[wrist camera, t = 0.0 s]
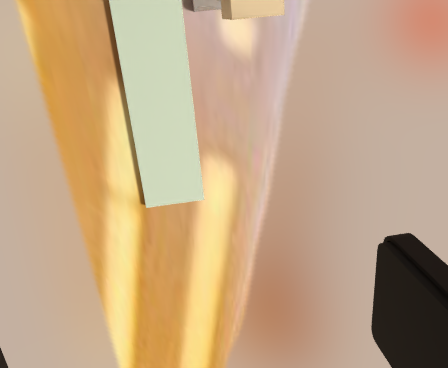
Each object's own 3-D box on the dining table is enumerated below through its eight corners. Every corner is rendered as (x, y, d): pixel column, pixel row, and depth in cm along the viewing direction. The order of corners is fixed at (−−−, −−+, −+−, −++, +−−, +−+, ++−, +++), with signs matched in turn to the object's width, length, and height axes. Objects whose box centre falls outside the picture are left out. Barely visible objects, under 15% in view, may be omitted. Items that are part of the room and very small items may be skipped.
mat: (101, -48, 33) (100, -48, 33) (174, -53, 34) (175, -54, 33) (146, 205, 42) (146, 207, 42) (203, 197, 43) (204, 199, 43)
